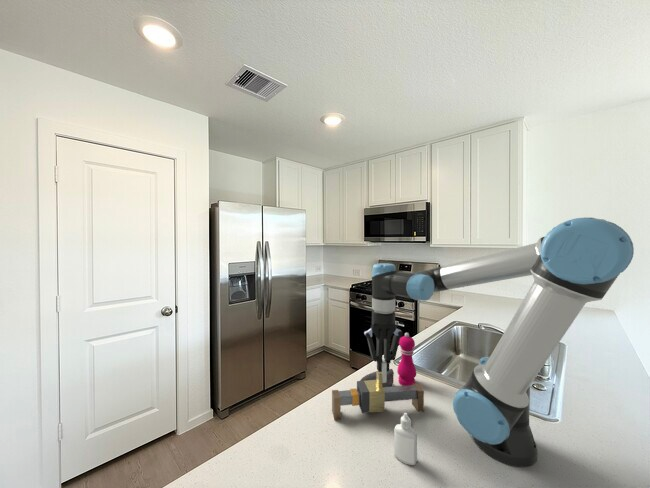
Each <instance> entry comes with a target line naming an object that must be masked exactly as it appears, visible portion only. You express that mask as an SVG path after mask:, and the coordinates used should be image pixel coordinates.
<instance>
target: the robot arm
mask: <svg viewBox="0 0 650 488" xmlns="http://www.w3.org/2000/svg"><path fill="white" fill-rule="evenodd" d="M634 249H635V248H634V243H633V241H632V238H631V237H630V235H629V233H627V231H625V230H624V229H623V228H622V227H621V226H619V225H618V224H616V223H614V222H611V221H609V220H606V219H602V218H595V217H585V216H584V217H578V218H571V219H569V220H566V221H563V222H561V223H559V224H557V225H556V226H554V227H553V228H552V229H551V230H549V231H548V232H547V233H546V235H545V236H541V237H540V238H539V239H538V240H537V241H536V242H534V243H531V244H527V245H523V246H519V247H516V248H512V249H507V250H503V251H499V252H498V251H497V252H494V253H491V254H487V255H482V256H478V257H475V258H471V259H467V260H462V261H459V262H455V263H451V264H446V265H442V266H439V267H434V268H431V269H424V270H419V271H414V272H406V271H405V272H404V271H397V269H396V265H395V264H394V263H386V262H385V263H383V262H380V263H375V264H373V266H372V271H371V286H372V287H371V292H372V293H371V309H372V310H371V324H370V328H369V329H368V330H364V332H363V334H364V336H365V338H366V340H367V345H368V348H369V352H370V357H371V359H372V361H374V362H376V369H377V370H376V371H378V372H381V374H382V383H387V371H389V369H390V364H391V362H392V361H395V359H396V357H397V352H398V348H399V346H400V345H399V341H400V338H401V337H403V336H404V335H403V334H404V332H403V331H402V330H401V329H399V328H397V325H396V312H395V311H396V296H398V297H403V298H408V299H413V300H414V301H423V302H424V301H426V302H427V301H429V300H430V299H431V298H432V297H433V295H434V293H437V292H443V291H449V290H452V289H453V290H454V289H459V288H464V287H465V288H466V287H470V286H476V285H483V284H489V283H493V282H499V281H503V280H505V281H506V280H511V279H515V278H516V279H517V278H524V277H527V276H528V277H529V276H532V277H533V279H534V281H533V283H532V284H531V286H530V287H529V289H528V292H527V293H526V294H525V296H524V298H523V299H522V302H521V303H520V305H519V306H518V308H517V310H516V312H515V313H514V316H513V317H512V319H511V321H510V322H509V324H508V326H507V328H506V329H505V331H503V334H502V336H501V338H500V339H499V341H498V342H497V344H496V346H495V347H494V350H493V351H492V352H491V354H490V356H484V357H483V356H482V357H481V358H480V359H479V363H478V364H477V365H475V367H474V368H473V370H472V372H471V374H470V375H469V377H468V378H467V380H466V383H465V384H464V385H463V387H462V388H461V389H460V390H458V391H457V392H456V393H455V396H454V397H453V401H452V408H453V412H454V414H455V416H456V419H457V421H458V422H459V424H460V425H461V427H462V428H463V429H464V430H465V431H466V432H467V433H468V434H469V435H470V436H471V438H472V440H473V442H474V443H475V444H476V446H477V447H478V448H479V449H480V450H481V451H482V452H484V453H485V454H486V455H488V456H489V457H491V458H492V459H495V461H498V462H501V463H504V464H506V465H509V466H514V467H520V468H521V467H522V468H523V467H530V466H533V465H534V464H535V463H536V462H537V460H538V446H537V443H536V441H535V438H534V435H533V433H532V432H533V431H532V428H531V426H530V409H531V408H530V403H531V402H530V401H531V400H530V399H531V397H530V396H531V385H532V384H533V382H534V381H535V379H536V378H537V376H538V375H539V373H540V372H541V370H542V369H543V367H544V365H545V364H546V363H547V361H548V359H549V358H550V357H551V355H552V354H553V352H554V350H556V348H557V347H558V346H559V343H560V342H561V340H562V339H563V337H564V336H565V335H566V333H567V332H568V330H569V329H570V327H571V326H572V324H573V323H574V321H575V320H576V318H577V316H578V315H579V314H580V313H581V312H582V309H583V308H584V307H585V305H586V304H587V303H590V302H597V301H602V299H603V298H604V297H605V295H606V294H607V293H608V291H609V290H610V288H611V287H612V285H613V284H614V283H615V281H616V280H617V278H618V277H619V276H620V275H621V273H623V272H624V271H625V270H626V269H627V268H628V267H629V266H630V264H631V263H632V261H633V257H634V254H635V253H634V251H635V250H634ZM373 334H374V336H375V339H376V350H375V344H374V342H373V341H374V340H373V338H372V337H373ZM393 334H394V335H393ZM392 336H393V337H392ZM391 337H392V340H391ZM391 341H392V342H391Z"/></svg>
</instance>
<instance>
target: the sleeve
mask: <svg viewBox="0 0 650 488" xmlns="http://www.w3.org/2000/svg"><path fill="white" fill-rule="evenodd" d="M376 371H377V379H376V380H366V381H364V382H365V384H366V386H367V388H368V390H369V392H370V404H369V412H368V413H377V412H385V409H386V408H385V407H386V406H385V405H386V404H385V403H386V402H385V390H384V389H383V387H382V374H381V372H378V370H376Z"/></svg>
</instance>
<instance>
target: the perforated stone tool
mask: <svg viewBox="0 0 650 488" xmlns="http://www.w3.org/2000/svg"><path fill="white" fill-rule="evenodd" d="M377 371H378V370H376V371H373V372H370V373H368V374H366V375H364V376H363V377H361V379H360V380H359V381H366V380H376V379H377ZM394 374H395V372H394V370H393V368H389V371H387V383H382V387H393V385H394V381H395V380H394V376H395V375H394Z"/></svg>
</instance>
